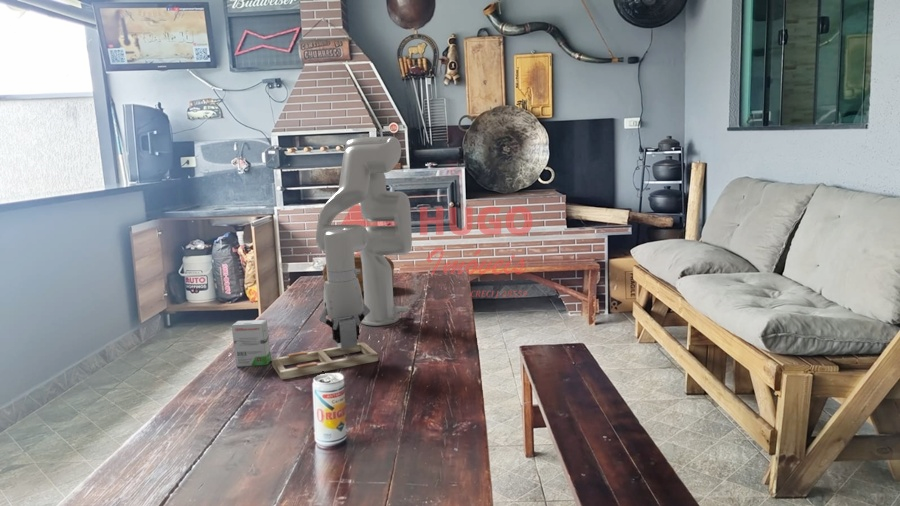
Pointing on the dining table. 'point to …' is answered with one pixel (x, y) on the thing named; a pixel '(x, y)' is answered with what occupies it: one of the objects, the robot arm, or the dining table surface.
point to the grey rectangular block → (347, 333)
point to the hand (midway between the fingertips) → (346, 339)
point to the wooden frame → (322, 360)
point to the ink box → (251, 343)
